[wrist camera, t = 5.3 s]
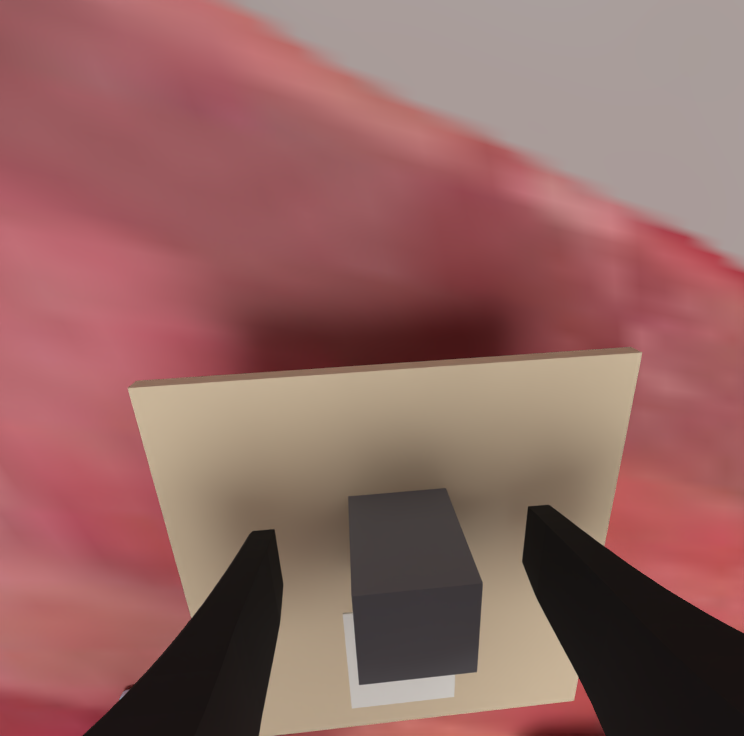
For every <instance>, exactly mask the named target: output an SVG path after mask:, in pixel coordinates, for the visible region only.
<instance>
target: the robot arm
mask: <svg viewBox="0 0 744 736" xmlns="http://www.w3.org/2000/svg"><path fill="white" fill-rule="evenodd" d="M522 563H523V566H524V568H525V571H526V573H527V576H528V579H529V581H530V584H531V586H532V589H533V591H534V594H535V596H536V598H537V600H538V602H539V604H540V606H541V608H542V610H543V612H544V614H545V616H546V617H547V619H548V621H549V623H550V625H551V627H552V629H553V631H554V633H555V634H556V636H557V638H558V640H559V642H560V644H561V646H562V647H563V649H564V651H565V653H566V655H567V657H568V659H569V660H570V662H571V664H572V666H573V668H574V670H575V672H576V673H577V675H578V677H579V679H580V681H581V683H582V685H583V687H584V689H585V691H586V693H587V695H588V697H589V699H590V701H591V703H592V705H593V708H594V710H595V712H596V714H597V717H598V719H599V721H600V724H601V726H602V728H603V731H604V733H605V735H606V736H744V633H742V632H740V631H738V630H736V629H734V628H732V627H730V626H729V625H727V624H725V623H723V622H721V621H719V620H718V619H716V618H714V617H712V616H710V615H709V614H707V613H705V612H704V611H702V610H700V609H698V608H697V607H695V606H693V605H692V604H690V603H688V602H687V601H685V600H683V599H682V598H680V597H678V596H677V595H675V594H673V593H672V592H670V591H669V590H667V589H665V588H664V587H662V586H661V585H659V584H658V583H656V582H655V581H653V580H652V579H650V578H649V577H647V576H646V575H644V574H643V573H641V572H640V571H638V570H637V569H635V568H634V567H632V566H631V565H629V564H628V563H627V562H625V561H624V560H622V559H621V558H620V557H618V556H617V555H615V554H614V553H613V552H611V551H610V550H609V549H607V548H606V547H604V546H603V545H602V544H600V543H599V542H598V541H596V540H595V539H594V538H592V537H591V536H590V535H588V534H587V533H586V532H584V531H583V530H582V529H581V528H579V527H578V526H577V525H575V524H574V523H573V522H571V521H570V520H569V519H567V518H566V517H565V516H564V515H562V514H561V513H560V512H558V511H557V510H556V509H554V508H553V507H551V506H550V505H538V506H528V510H527V520H526V529H525V538H524V547H523V557H522ZM283 585H284V584H283V578H282V572H281V566H280V559H279V553H278V547H277V541H276V535H275V529H269V530H258V531H252V532H251V533H250V534H249V535H248V537H247V539H246V540H245V542H244V544H243V545H242V547H241V548H240V550H239V552H238V553H237V555H236V556H235V558H234V559H233V561H232V562H231V564H230V565H229V567H228V568H227V570H226V571H225V573H224V574H223V576H222V577H221V579H220V580H219V582H218V583H217V584H216V586H215V587H214V589H213V590H212V592H211V593H210V594H209V596H208V597H207V599H206V600H205V601H204V603H203V604H202V605H201V607H200V608H199V609H198V610H197V612H196V613H195V614H194V616H193V617H192V618H191V620H190V621H189V622H188V623H187V625H186V626H185V627H184V629H183V630H182V631H181V632H180V634H179V635H178V636H177V637H176V638H175V640H174V641H173V642H172V643H171V644H170V646H169V647H168V648H167V649H166V650H165V652H164V653H163V654H162V655H161V656H160V657H159V658H158V659H157V661H156V662H155V663H154V664H153V665H152V666H151V667H150V669H149V670H148V671H147V672H146V673H145V674H144V675H143V676H142V677H141V678H140V679H139V680H138V681H137V682H136V683H135V684H134V686H133V687H132V688H131V689H129V690H125V691H124V692H123V693H122V694H121V697H120V699H119V701H118V702H117V703H116V704H115V705H114V706H113V707H112V708H111V709H110V710H109V711H108V712H107V713H106V714H105V715H104V716H103V717H102V718H101V719H100V720H99V721H98V722H97V723H96V724H95V725H94V726H92V727H91V728H90V729H89V730H88V731H87V732H86V733H85V734H84V735H83V736H259V733H260V726H261V720H262V715H263V710H264V705H265V699H266V694H267V689H268V684H269V679H270V674H271V669H272V664H273V659H274V653H275V648H276V643H277V638H278V632H279V627H280V620H281V609H282V597H283Z"/></svg>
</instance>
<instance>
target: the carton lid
mask: <svg viewBox="0 0 744 736" xmlns="http://www.w3.org/2000/svg"><path fill="white" fill-rule="evenodd" d="M641 356H642V352H640V351H638V350H636V349H634V348H631V347H624V348H610V349H595V350H580V351H566V352H551V353H537V354H522V355H507V356H493V357H478V358H464V359H449V360H434V361H420V362H405V363H391V364H376V365H361V366H347V367H332V368H318V369H303V370H288V371H274V372H259V373H245V374H230V375H215V376H201V377H186V378H172V379H157V380H142V381H136V382H135V383H133V384H132V385H131V386H130V387H128V391H129V395H130V398H131V402H132V406H133V409H134V413H135V416H136V420H137V424H138V427H139V431H140V434H141V438H142V442H143V445H144V449H145V453H146V456H147V460H148V463H149V467H150V471H151V474H152V478H153V481H154V485H155V489H156V492H157V496H158V499H159V503H160V507H161V510H162V514H163V518H164V521H165V525H166V528H167V532H168V536H169V539H170V543H171V546H172V550H173V554H174V557H175V561H176V565H177V568H178V572H179V575H180V579H181V583H182V586H183V590H184V593H185V597H186V601H187V604H188V608H189V612H190V615H191V618H192V617H193V616H194V614H195V613H196V612H197V610H198V609H199V608H200V607H201V605H202V604H203V603H204V601H205V600H206V599H207V597H208V596H209V594H210V593H211V592H212V590H213V589H214V587H215V586H216V584H217V583H218V582H219V580H220V579H221V577H222V576H223V574H224V573H225V571H226V570H227V568H228V567H229V565H230V564H231V562H232V561H233V559H234V558H235V556H236V555H237V553H238V552H239V550H240V548H241V547H242V545H243V544H244V542H245V540H246V539H247V537H248V535H249V534H250V533H251V532H252V531H258V530H269V529H275V535H276V541H277V547H278V553H279V559H280V566H281V572H282V578H283V584H284V585H283V597H282V609H281V620H280V627H279V632H278V638H277V643H276V648H275V653H274V659H273V664H272V669H271V674H270V679H269V684H268V689H267V694H266V699H265V705H264V710H263V715H262V720H261V726H260V733H259V736H275V735H284V734H292V733H301V732H310V731H318V730H327V729H335V728H344V727H353V726H361V725H370V724H378V723H387V722H395V721H404V720H413V719H421V718H430V717H438V716H447V715H456V714H464V713H473V712H481V711H490V710H499V709H507V708H516V707H524V706H533V705H541V704H550V703H559V702H567V701H574V697H575V692H576V687H577V682H578V675H577V673H576V672H575V670H574V668H573V666H572V664H571V662H570V660H569V659H568V657H567V655H566V653H565V651H564V649H563V647H562V646H561V644H560V642H559V640H558V638H557V636H556V634H555V633H554V631H553V629H552V627H551V625H550V623H549V621H548V619H547V617H546V616H545V614H544V612H543V610H542V608H541V606H540V604H539V602H538V600H537V598H536V596H535V594H534V591H533V589H532V586H531V584H530V581H529V579H528V576H527V573H526V571H525V568H524V566H523V563H522V557H523V547H524V538H525V529H526V520H527V510H528V506H538V505H550V506H551V507H553V508H554V509H556V510H557V511H558V512H560V513H561V514H562V515H564V516H565V517H566V518H567V519H569V520H570V521H571V522H573V523H574V524H575V525H577V526H578V527H579V528H581V529H582V530H583V531H584V532H586V533H587V534H588V535H590V536H591V537H592V538H594V539H595V540H596V541H598V542H599V543H600V544H602V545H603V546H604V545H605V539H606V534H607V529H608V524H609V519H610V514H611V509H612V504H613V499H614V494H615V489H616V483H617V478H618V473H619V468H620V463H621V458H622V453H623V448H624V443H625V438H626V433H627V428H628V422H629V417H630V412H631V407H632V402H633V397H634V392H635V387H636V382H637V377H638V372H639V366H640V361H641Z"/></svg>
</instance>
